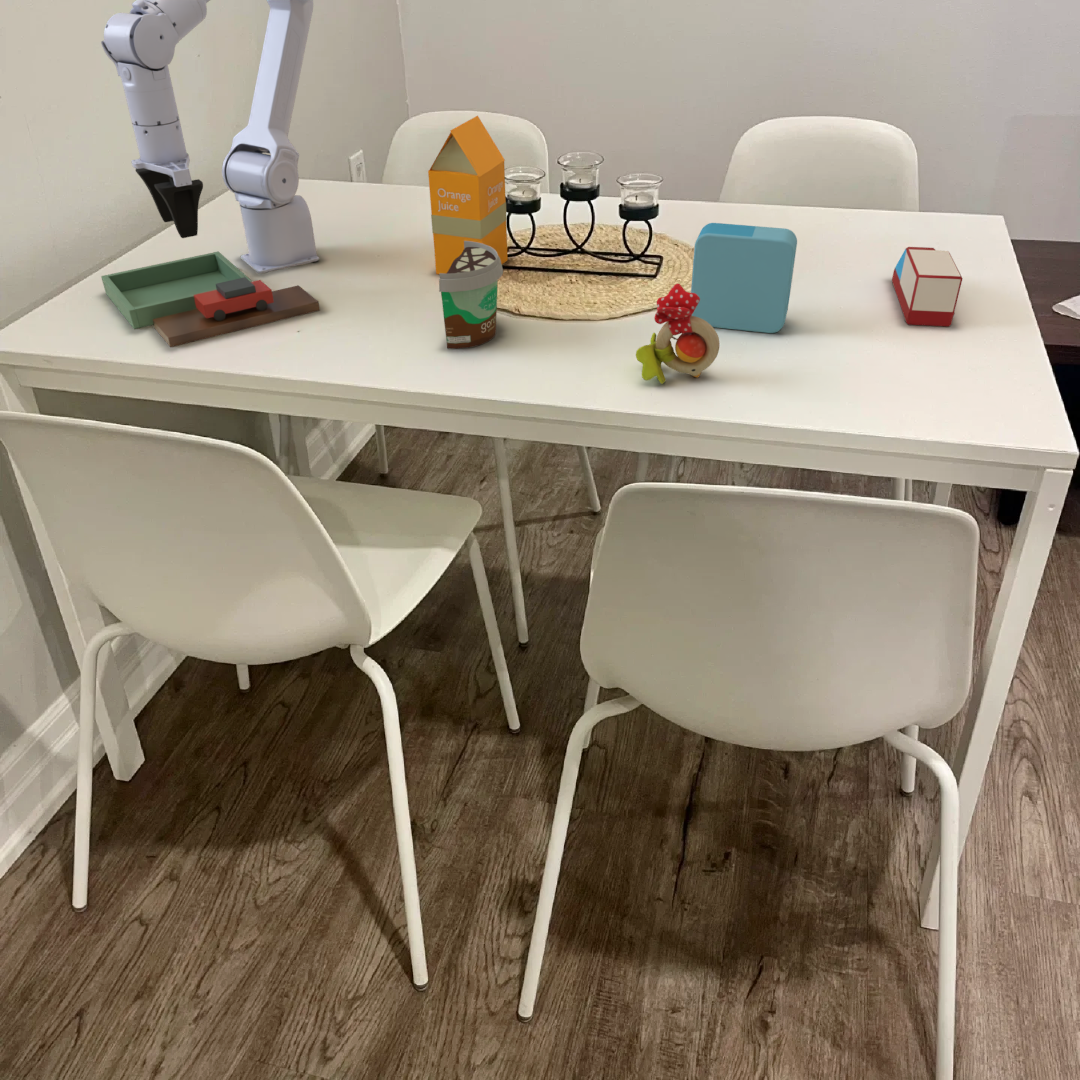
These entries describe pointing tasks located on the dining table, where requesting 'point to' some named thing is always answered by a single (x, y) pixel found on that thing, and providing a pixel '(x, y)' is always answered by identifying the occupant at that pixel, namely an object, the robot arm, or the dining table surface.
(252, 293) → the toy car
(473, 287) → the food container
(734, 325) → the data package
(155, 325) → the board
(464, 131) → the orange juice
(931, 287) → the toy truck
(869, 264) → the dining table surface
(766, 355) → the dining table surface
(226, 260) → the tray
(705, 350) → the bird rattle
